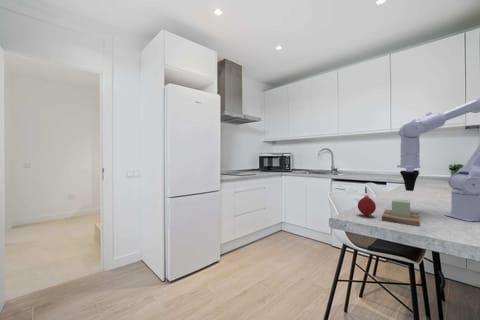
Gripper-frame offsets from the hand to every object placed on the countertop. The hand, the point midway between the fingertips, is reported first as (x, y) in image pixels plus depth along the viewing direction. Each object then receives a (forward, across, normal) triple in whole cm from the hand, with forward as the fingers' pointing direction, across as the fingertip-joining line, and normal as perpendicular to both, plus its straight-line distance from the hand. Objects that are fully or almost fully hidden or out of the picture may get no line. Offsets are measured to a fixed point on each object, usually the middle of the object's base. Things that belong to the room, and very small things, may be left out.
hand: (409, 189), depth 83 cm
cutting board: (+9, +11, -2) cm, 14 cm away
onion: (+10, +14, -12) cm, 21 cm away
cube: (+8, +11, -2) cm, 13 cm away
